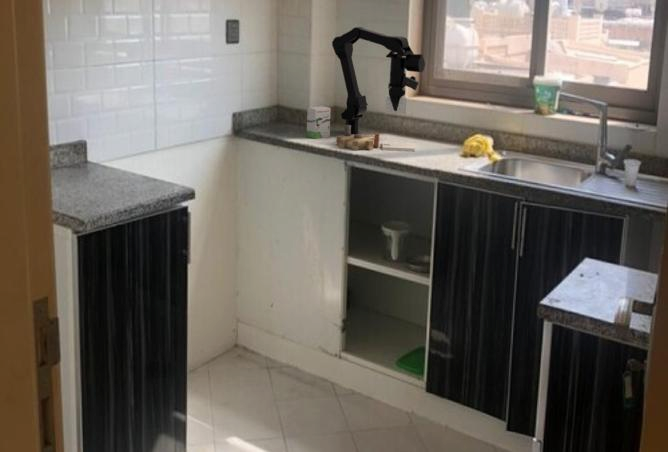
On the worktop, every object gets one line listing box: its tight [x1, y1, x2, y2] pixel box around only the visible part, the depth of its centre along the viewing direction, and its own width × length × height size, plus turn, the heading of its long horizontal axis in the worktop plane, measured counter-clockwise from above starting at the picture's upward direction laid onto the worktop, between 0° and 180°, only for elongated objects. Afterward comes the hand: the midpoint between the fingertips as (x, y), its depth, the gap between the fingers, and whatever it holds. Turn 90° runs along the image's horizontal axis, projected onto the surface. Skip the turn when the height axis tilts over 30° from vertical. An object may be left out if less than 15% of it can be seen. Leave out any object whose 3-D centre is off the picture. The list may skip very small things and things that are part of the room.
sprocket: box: [335, 124, 380, 151], centre depth 321 cm, size 16×16×7 cm
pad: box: [381, 140, 416, 152], centre depth 322 cm, size 11×12×1 cm
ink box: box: [306, 105, 331, 140], centre depth 335 cm, size 9×5×12 cm, turn 134°
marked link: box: [384, 96, 407, 115], centre depth 333 cm, size 4×8×6 cm, turn 87°
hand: (395, 110), depth 333 cm, fingers closed on marked link, 4 cm apart
